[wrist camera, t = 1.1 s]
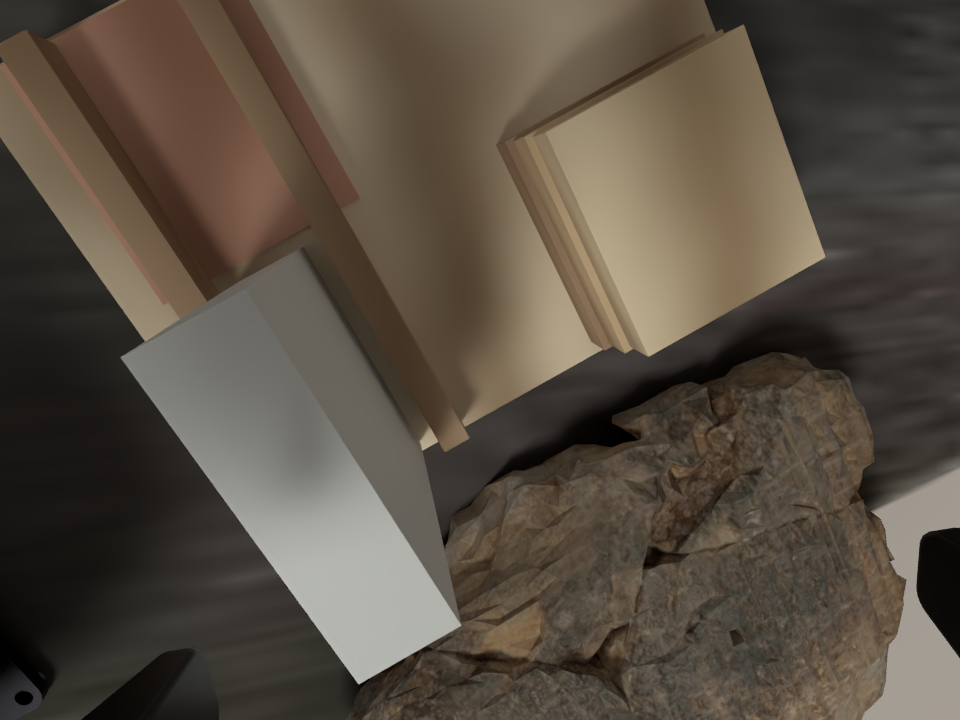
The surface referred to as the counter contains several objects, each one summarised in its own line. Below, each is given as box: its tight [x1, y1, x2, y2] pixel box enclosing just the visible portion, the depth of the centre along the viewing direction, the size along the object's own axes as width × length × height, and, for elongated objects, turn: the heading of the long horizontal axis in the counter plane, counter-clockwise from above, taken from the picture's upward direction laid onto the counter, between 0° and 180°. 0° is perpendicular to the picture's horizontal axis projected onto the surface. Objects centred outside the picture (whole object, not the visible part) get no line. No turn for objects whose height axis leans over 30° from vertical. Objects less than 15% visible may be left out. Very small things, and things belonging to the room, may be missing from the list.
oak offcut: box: [514, 29, 724, 353], centre depth 18 cm, size 6×6×1 cm
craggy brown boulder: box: [345, 352, 906, 720], centre depth 21 cm, size 14×5×20 cm
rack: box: [0, 0, 716, 452], centre depth 18 cm, size 18×14×2 cm
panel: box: [121, 247, 461, 684], centre depth 15 cm, size 2×7×9 cm, turn 28°
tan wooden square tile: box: [496, 33, 705, 350], centre depth 19 cm, size 6×6×1 cm
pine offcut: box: [533, 24, 825, 357], centre depth 16 cm, size 5×6×1 cm
